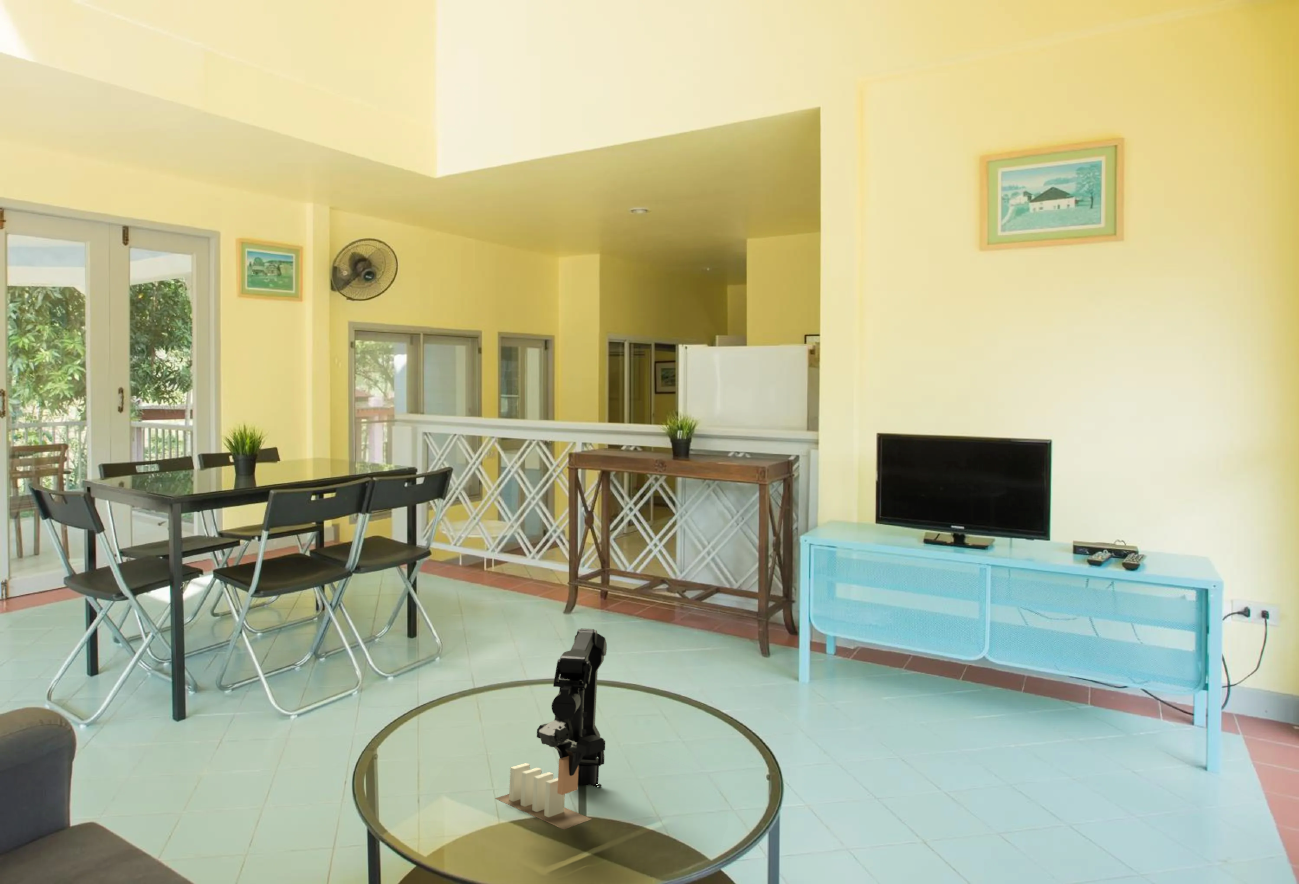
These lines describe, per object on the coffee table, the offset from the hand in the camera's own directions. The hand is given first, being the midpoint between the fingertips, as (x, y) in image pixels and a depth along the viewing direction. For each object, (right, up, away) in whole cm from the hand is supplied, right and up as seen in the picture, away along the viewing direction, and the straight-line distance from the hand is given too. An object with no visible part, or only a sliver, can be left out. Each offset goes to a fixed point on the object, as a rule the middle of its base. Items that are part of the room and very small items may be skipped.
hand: (568, 774), depth 194 cm
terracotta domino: (0, -4, 0) cm, 4 cm away
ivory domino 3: (-7, -11, +5) cm, 14 cm away
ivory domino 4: (-4, -11, +2) cm, 11 cm away
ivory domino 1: (-14, -11, +11) cm, 21 cm away
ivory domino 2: (-10, -11, +8) cm, 17 cm away
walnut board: (-7, -12, +5) cm, 15 cm away
